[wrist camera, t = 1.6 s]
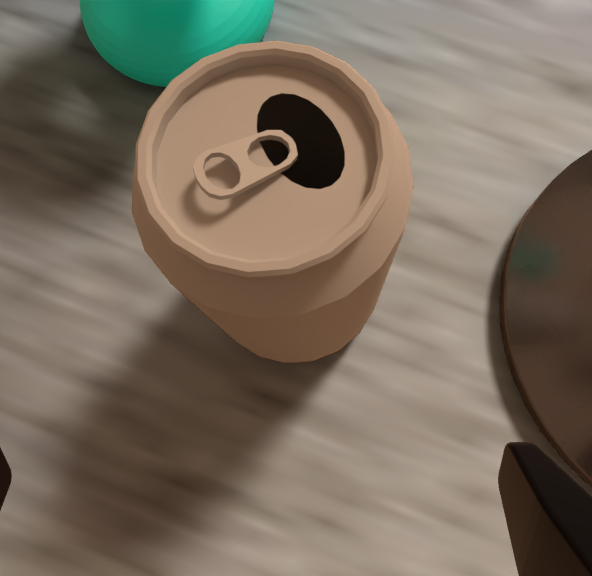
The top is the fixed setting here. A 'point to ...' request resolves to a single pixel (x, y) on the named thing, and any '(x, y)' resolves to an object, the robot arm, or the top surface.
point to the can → (273, 195)
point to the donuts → (170, 32)
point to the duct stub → (554, 313)
